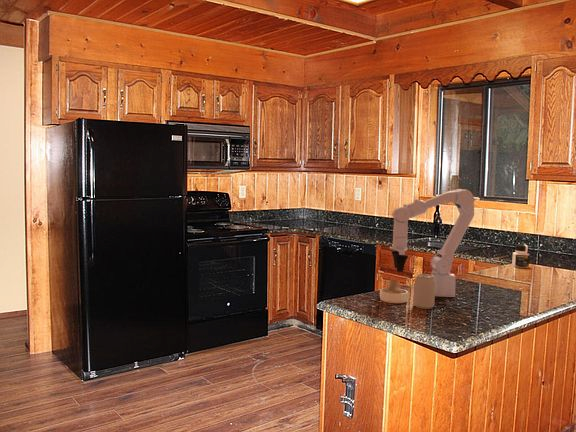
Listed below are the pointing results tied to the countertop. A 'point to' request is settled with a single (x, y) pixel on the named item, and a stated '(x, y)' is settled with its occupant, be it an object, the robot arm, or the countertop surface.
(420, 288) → the can
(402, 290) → the beige shallow bowl
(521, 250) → the medicine bottle
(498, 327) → the countertop surface
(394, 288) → the beige rectangular block
